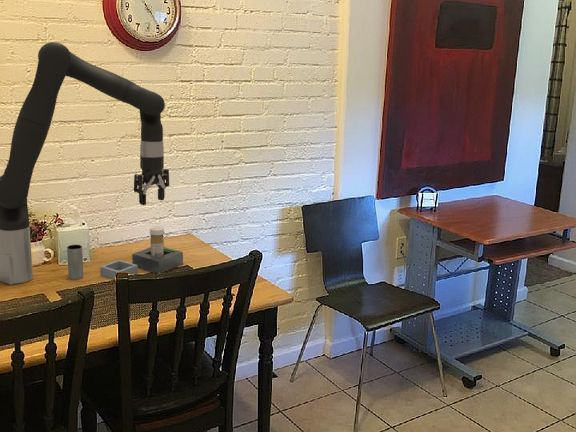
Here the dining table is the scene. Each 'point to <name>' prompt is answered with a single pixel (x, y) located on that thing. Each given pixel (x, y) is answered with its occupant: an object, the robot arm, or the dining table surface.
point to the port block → (157, 260)
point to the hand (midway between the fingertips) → (152, 202)
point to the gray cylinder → (75, 262)
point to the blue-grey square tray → (118, 268)
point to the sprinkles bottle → (157, 241)
